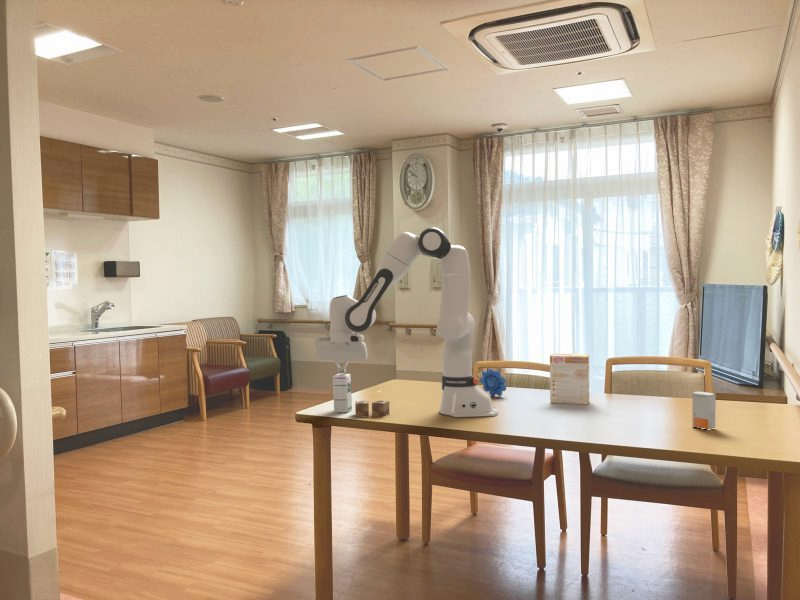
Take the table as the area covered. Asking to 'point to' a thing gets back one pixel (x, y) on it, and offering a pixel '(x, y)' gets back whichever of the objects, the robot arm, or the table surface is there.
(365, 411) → the walnut block one
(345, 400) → the syrup box
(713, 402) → the skincare box
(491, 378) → the blue gear wheel
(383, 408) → the walnut block two
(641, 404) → the table surface
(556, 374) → the coffeecake box
